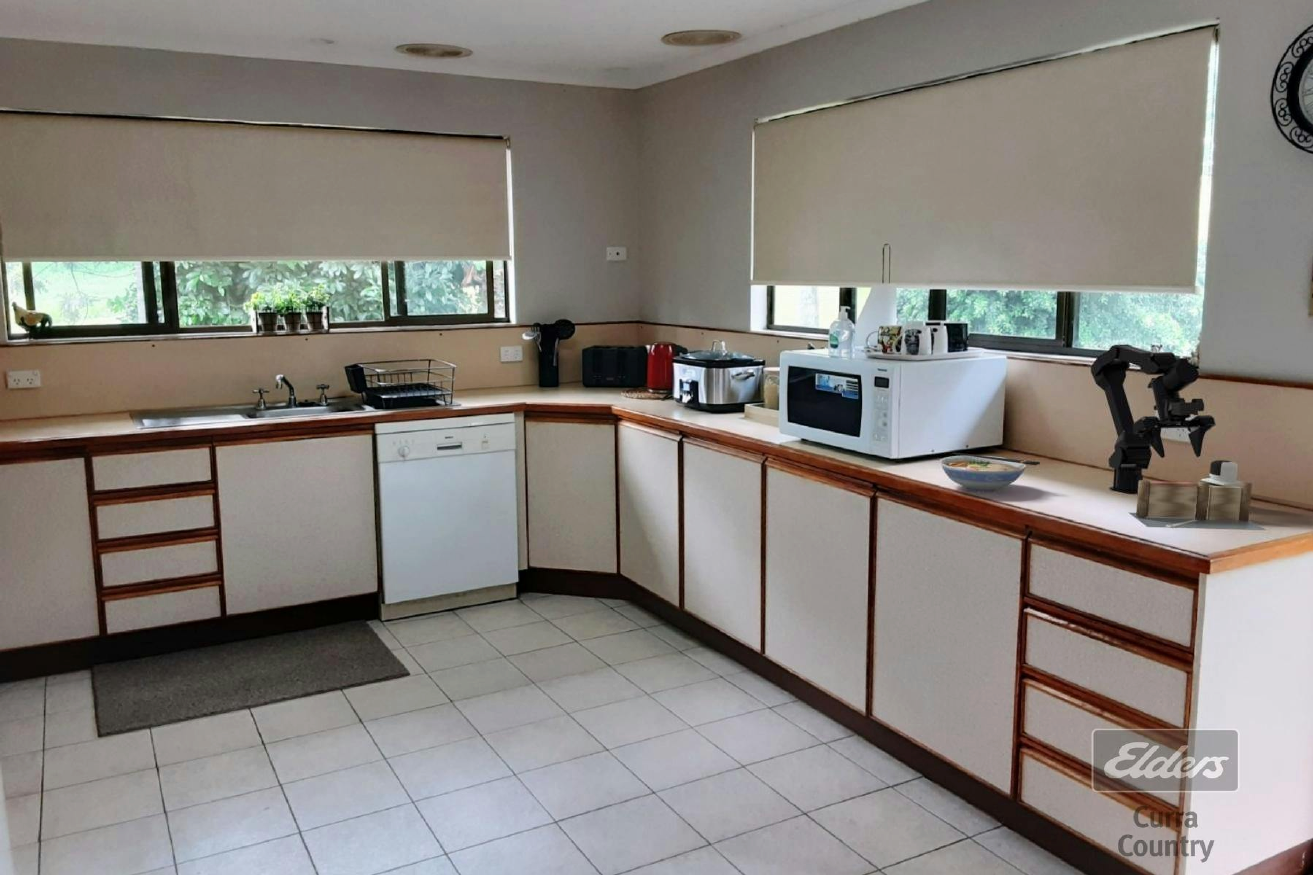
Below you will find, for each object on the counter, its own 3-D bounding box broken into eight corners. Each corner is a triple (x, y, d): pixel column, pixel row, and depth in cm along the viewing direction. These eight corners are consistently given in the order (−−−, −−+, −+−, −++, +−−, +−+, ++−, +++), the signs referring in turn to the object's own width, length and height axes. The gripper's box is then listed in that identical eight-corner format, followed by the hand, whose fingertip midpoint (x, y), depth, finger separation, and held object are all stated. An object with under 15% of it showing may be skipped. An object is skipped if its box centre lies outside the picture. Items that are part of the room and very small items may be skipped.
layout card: (1147, 528, 240) (1147, 526, 240) (1128, 514, 254) (1128, 512, 253) (1266, 531, 236) (1266, 529, 236) (1240, 516, 250) (1240, 514, 250)
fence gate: (1191, 516, 248) (1194, 481, 247) (1195, 518, 246) (1198, 483, 244) (1134, 514, 250) (1137, 480, 248) (1138, 517, 247) (1140, 482, 246)
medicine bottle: (1197, 506, 261) (1201, 459, 259) (1218, 503, 264) (1222, 457, 262) (1222, 512, 255) (1226, 464, 253) (1243, 509, 257) (1247, 462, 255)
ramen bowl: (918, 488, 283) (919, 459, 282) (960, 476, 299) (962, 448, 298) (1003, 503, 266) (1005, 472, 264) (1043, 489, 281) (1045, 460, 280)
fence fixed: (1197, 520, 246) (1200, 483, 244) (1193, 517, 248) (1196, 481, 246) (1250, 521, 244) (1253, 484, 243) (1245, 518, 246) (1249, 482, 245)
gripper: (1148, 386, 251) (1162, 447, 246) (1221, 385, 253) (1236, 445, 248) (1126, 403, 262) (1138, 461, 256) (1195, 402, 263) (1209, 460, 258)
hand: (1180, 457), depth 254 cm, fingers open, 9 cm apart
